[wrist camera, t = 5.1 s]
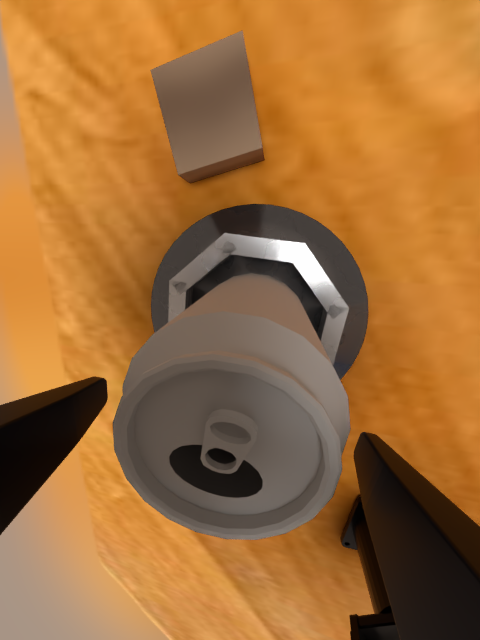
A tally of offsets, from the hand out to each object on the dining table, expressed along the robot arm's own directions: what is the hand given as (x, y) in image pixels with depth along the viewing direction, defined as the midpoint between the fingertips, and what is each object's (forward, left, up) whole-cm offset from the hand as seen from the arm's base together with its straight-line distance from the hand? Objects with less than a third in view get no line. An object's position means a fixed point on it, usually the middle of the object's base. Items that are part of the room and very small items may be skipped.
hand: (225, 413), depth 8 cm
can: (0, 0, -10) cm, 10 cm away
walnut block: (+12, +4, -10) cm, 16 cm away
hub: (0, 0, -10) cm, 10 cm away
